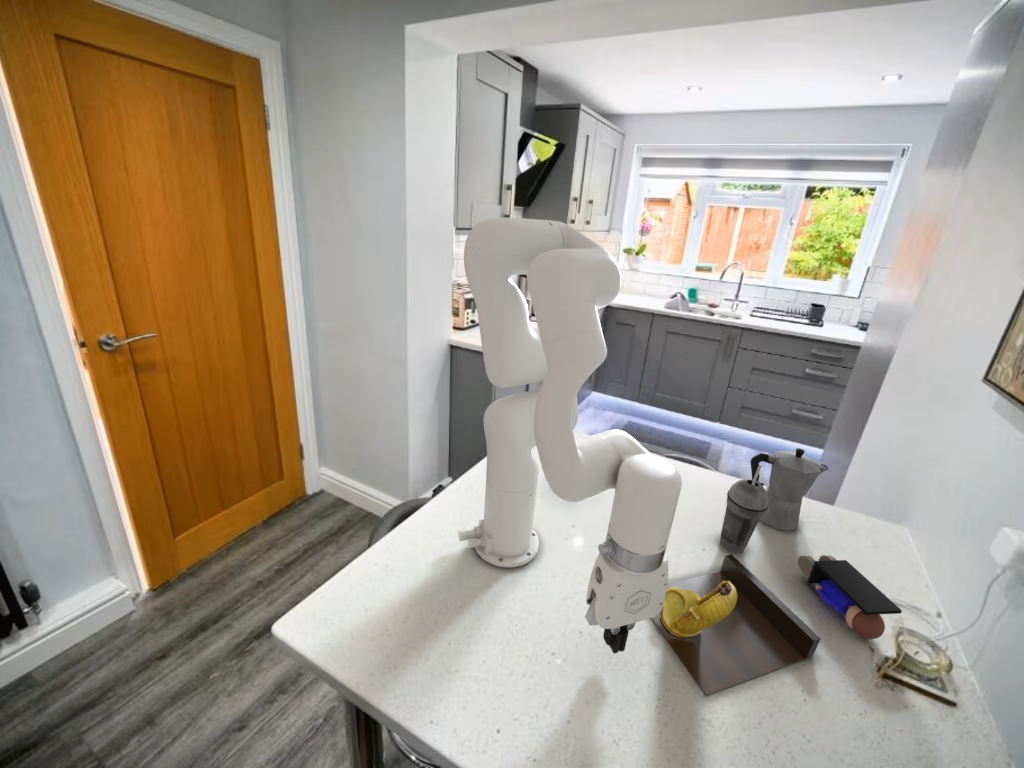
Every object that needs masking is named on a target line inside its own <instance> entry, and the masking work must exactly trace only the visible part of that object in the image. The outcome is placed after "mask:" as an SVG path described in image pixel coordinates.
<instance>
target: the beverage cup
mask: <svg viewBox="0 0 1024 768" xmlns="http://www.w3.org/2000/svg"><path fill="white" fill-rule="evenodd" d="M761 469H762V465H761V464H759V466H758V468H757V471H756V474H755V476H754V479H753V480H752V479H751V478H744V479H739V480H737V481H735V482H734V483H733V484H732V485H731V486H730V487H729V490H728V491H727V493H726V507H725V512H724V518H723V521H722V527H721V533H720V539H719V544H720V546H721V547H722V548H723V549H724V550H725V551H726V552H728V553H730V554H736V555H740V554H742V553H744V550H745V549H746V548H747V546H748V544H749V542H750V540H751V538H752V536H753V534H754V532H755V530H756V527H757V526H758V523H759V522H760V521H761V520H760V518H761V517H762V515H763V514H764V512H765V510H767V508H768V495H767V492H766V490H765V489H766V488H765V487H764V485H763V486H762V485H761V484H759V483H758V482H759V481H758V482H756V480H757V477H758V475H759V476H760V472H761Z"/></svg>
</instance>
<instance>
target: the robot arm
mask: <svg viewBox="0 0 1024 768" xmlns="http://www.w3.org/2000/svg"><path fill="white" fill-rule="evenodd" d="M463 266H464V272H465V277H466V281H467V284H468V288H469V290H470V293H471V294H472V297H473V300H474V304H475V307H476V313H477V319H478V328H479V334H480V342H481V350H482V356H483V364H484V368H485V374H486V376H487V379H488V380H489V383H491V384H492V385H493V386H495V387H497V388H500V389H501V388H503V389H504V388H505V389H506V388H507V389H508V388H514V387H520V386H525V385H531V384H536V385H537V387H536V388H537V389H535V390H534V389H533V390H528V391H524V392H518V393H513V394H509V395H506V396H503V397H501V398H498V399H496V400H494V401H493V402H492V403H490V404H489V405H488V406H487V407H486V409H485V411H484V413H483V431H484V437H485V446H486V472H485V491H484V492H485V495H484V510H483V518H482V519H479V520H478V525H475V526H474V528H471V529H461V530H458V532H457V536H458V540H459V542H464V541H465V542H466V541H467V548H468V549H473V548H474V549H475V551H476V553H477V555H478V556H479V557H480V558H481V559H482V560H483V561H485V562H486V563H488V564H490V565H492V566H496V567H499V568H507V569H508V568H517V567H518V568H519V567H521V566H524V565H527V564H528V563H530V562H531V561H532V560H534V558H535V557H536V556H537V554H538V551H539V547H540V539H539V537H538V534H537V533H536V531H535V530H534V519H535V512H536V504H537V503H536V501H537V496H538V495H537V494H538V486H539V485H538V484H539V474H540V469H539V463H538V461H537V459H536V458H535V457H534V455H532V449H533V448H534V447H536V449H537V453H538V458H539V461H540V466H541V469H542V472H543V475H544V477H545V481H546V482H547V484H548V486H549V488H550V489H551V491H552V492H553V494H555V495H556V496H557V497H558V498H559V499H561V500H563V501H566V502H569V503H577V502H582V501H584V500H587V499H590V498H592V497H594V496H596V495H598V494H601V493H603V492H606V491H608V490H614V495H613V500H612V504H611V505H612V506H611V511H610V517H609V520H608V521H609V522H608V527H607V530H606V536H605V541H603V542H602V543H599V544H598V547H597V550H598V554H597V557H596V559H595V562H594V565H593V567H592V571H591V573H590V577H589V580H588V586H587V590H586V597H585V598H586V599H585V603H586V604H587V605H588V609H587V611H586V613H585V615H584V618H585V620H586V621H587V623H588V625H589V626H599V628H600V629H604V630H603V635H602V636H603V640H604V643H605V644H606V646H609V648H610V649H611V651H612V653H613V654H618V653H619V652H620V653H622V652H624V651H625V650H626V645H627V640H628V637H629V631H631V630H633V629H634V628H635V626H636V623H639V622H642V621H646V620H649V619H651V618H652V617H655V616H657V615H658V614H659V613H660V612H661V610H662V608H663V604H664V600H665V595H666V589H667V584H668V583H669V582H668V581H669V560H668V559H669V558H668V555H667V553H666V550H667V547H668V541H669V538H670V534H671V531H672V526H673V523H674V518H675V514H676V511H677V507H678V502H679V500H680V499H679V498H680V495H681V491H682V485H683V481H682V479H683V478H682V476H681V473H680V471H679V470H678V468H677V467H676V466H675V465H673V463H670V461H668V460H666V459H664V458H661V457H659V456H655V455H653V454H652V453H651V452H650V451H649V450H648V449H647V448H645V447H644V446H643V445H642V444H641V443H640V442H639V441H638V440H637V439H635V438H634V437H633V436H632V435H631V434H629V433H628V432H626V431H624V430H621V429H617V428H613V429H608V430H607V429H606V430H604V431H600V432H598V433H595V434H592V435H588V436H584V437H582V438H579V439H576V438H575V433H574V430H575V428H576V426H577V424H578V421H579V420H578V419H579V405H578V393H579V391H580V390H581V388H582V387H583V385H584V383H585V382H586V381H587V380H588V379H589V377H590V376H592V374H593V373H594V372H595V371H596V370H597V369H598V368H599V367H600V366H601V365H602V364H604V362H605V360H606V359H607V356H608V347H607V344H606V341H605V337H604V333H603V329H602V325H601V321H600V317H599V313H598V309H597V307H602V306H606V305H608V304H610V303H612V302H613V301H614V300H615V299H616V297H618V294H619V293H620V290H621V285H622V275H621V270H620V267H619V264H618V262H617V260H616V259H615V258H614V256H613V255H612V254H611V253H610V252H609V251H608V250H607V249H605V247H603V246H601V245H600V244H599V243H597V242H595V241H594V240H592V239H591V238H589V237H588V236H586V235H584V234H583V233H582V232H580V231H579V230H577V229H575V228H574V227H573V226H570V225H569V224H567V223H564V222H562V221H558V220H553V219H539V218H536V219H535V218H525V217H524V218H523V217H493V218H488V219H484V220H482V221H479V222H478V223H476V224H474V226H472V227H471V229H470V231H469V232H468V234H467V237H466V239H465V243H464V249H463ZM515 275H517V276H518V275H519V276H520V275H526V284H527V288H528V292H529V296H530V301H531V305H532V309H533V314H534V316H535V320H536V321H535V322H536V325H537V327H535V328H532V327H531V321H530V317H529V306H528V303H527V300H526V298H525V296H524V295H523V292H522V291H521V289H520V288H519V287H518V285H517V284H516V283H515V282H514V281H513V280H512V279H511V277H512V276H515Z"/></svg>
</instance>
